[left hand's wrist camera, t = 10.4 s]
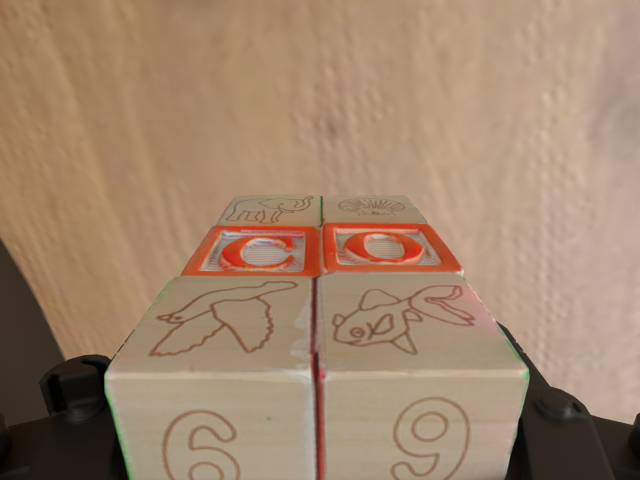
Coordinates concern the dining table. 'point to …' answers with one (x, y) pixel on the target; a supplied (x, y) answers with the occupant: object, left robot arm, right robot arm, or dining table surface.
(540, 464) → the left robot arm
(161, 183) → the dining table surface
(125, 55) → the dining table surface
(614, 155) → the dining table surface
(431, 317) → the stack of blocks
